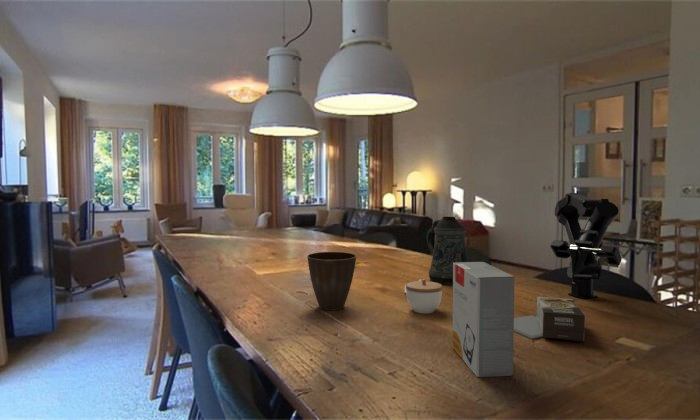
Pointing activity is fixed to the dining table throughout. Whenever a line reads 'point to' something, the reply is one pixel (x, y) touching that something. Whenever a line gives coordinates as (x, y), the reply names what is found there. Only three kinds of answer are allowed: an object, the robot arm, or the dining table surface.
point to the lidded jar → (423, 295)
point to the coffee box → (560, 319)
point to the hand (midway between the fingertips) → (574, 274)
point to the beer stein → (446, 249)
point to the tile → (528, 327)
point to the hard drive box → (483, 318)
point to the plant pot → (331, 277)
